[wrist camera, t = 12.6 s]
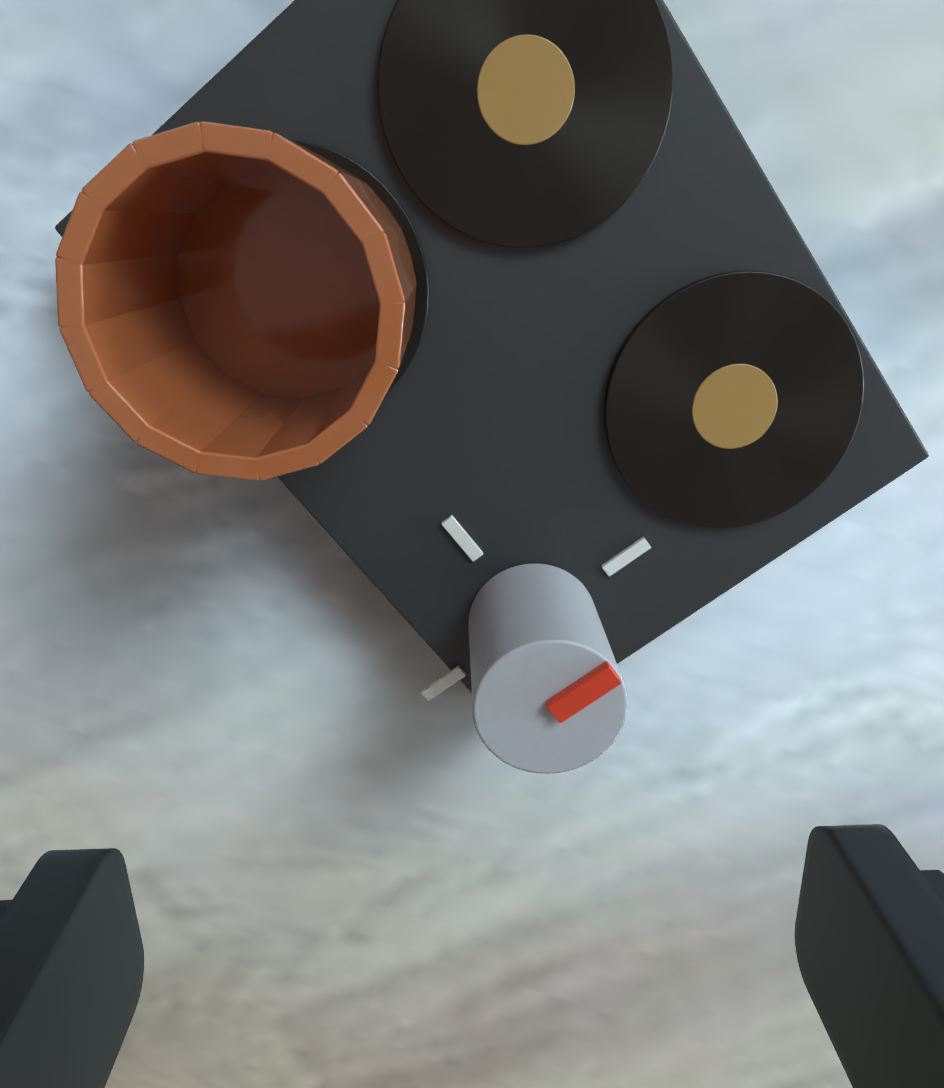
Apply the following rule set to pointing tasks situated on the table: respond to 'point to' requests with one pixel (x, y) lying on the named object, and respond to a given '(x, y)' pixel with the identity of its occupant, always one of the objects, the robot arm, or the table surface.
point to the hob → (537, 361)
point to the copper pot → (234, 299)
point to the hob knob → (542, 671)
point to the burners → (585, 201)
